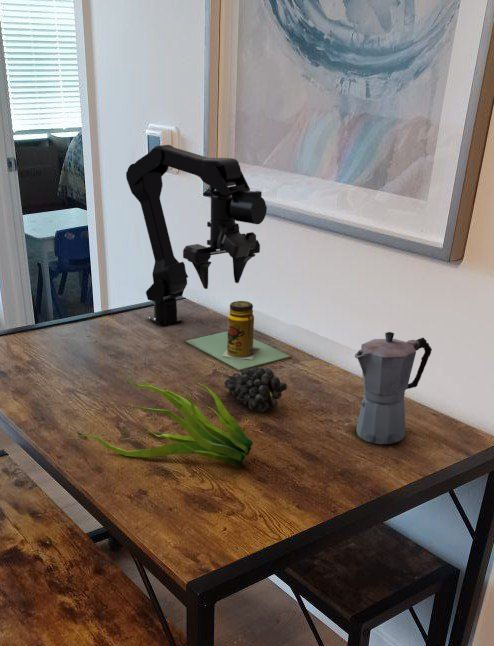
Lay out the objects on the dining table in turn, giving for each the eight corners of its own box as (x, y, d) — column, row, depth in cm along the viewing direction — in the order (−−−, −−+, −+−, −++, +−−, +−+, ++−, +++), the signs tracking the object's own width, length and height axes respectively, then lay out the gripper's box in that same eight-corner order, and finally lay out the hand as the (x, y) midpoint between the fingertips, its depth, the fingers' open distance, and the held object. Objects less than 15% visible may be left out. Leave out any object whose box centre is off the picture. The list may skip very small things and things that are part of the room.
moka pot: (332, 430, 133) (344, 328, 123) (398, 416, 139) (415, 317, 129) (361, 452, 126) (376, 346, 116) (430, 437, 131) (451, 334, 121)
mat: (185, 341, 174) (185, 340, 174) (234, 330, 181) (234, 329, 181) (239, 370, 158) (239, 369, 158) (290, 357, 165) (290, 356, 165)
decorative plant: (135, 414, 139) (132, 343, 131) (258, 463, 122) (262, 384, 115) (65, 448, 127) (57, 371, 119) (191, 506, 110) (192, 422, 103)
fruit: (219, 352, 143) (269, 373, 132) (248, 356, 148) (298, 377, 138) (208, 392, 145) (256, 417, 135) (238, 395, 151) (286, 419, 140)
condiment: (221, 356, 165) (222, 306, 158) (231, 344, 171) (233, 295, 165) (251, 360, 163) (253, 309, 156) (260, 348, 169) (263, 299, 163)
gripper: (209, 229, 152) (208, 300, 160) (276, 219, 161) (272, 287, 169) (181, 220, 160) (182, 288, 168) (247, 212, 169) (244, 277, 177)
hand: (221, 285), depth 170 cm, fingers open, 9 cm apart
